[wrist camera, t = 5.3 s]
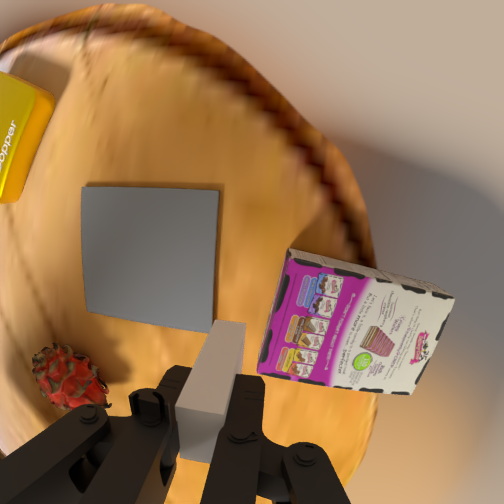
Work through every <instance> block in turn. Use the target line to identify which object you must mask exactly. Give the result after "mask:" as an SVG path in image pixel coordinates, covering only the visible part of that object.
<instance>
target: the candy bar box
mask: <svg viewBox="0 0 504 504" xmlns="http://www.w3.org/2000/svg"><path fill="white" fill-rule="evenodd" d="M454 301H455V298H454V297H453V296H451V295H450V294H448V293H447V292H445V291H444V290H442V289H440V288H439V287H437V286H436V285H434V284H431V283H428V282H424V281H420V280H416V279H412V278H407V277H404V276H400V275H396V274H392V273H388V272H384V271H380V270H377V269H373V268H369V267H365V266H361V265H357V264H353V263H349V262H345V261H341V260H337V259H333V258H329V257H325V256H321V255H317V254H312V253H308V252H304V251H300V250H296V249H291V248H288V249H287V252H286V255H285V259H284V263H283V266H282V270H281V274H280V277H279V281H278V285H277V288H276V292H275V296H274V299H273V303H272V307H271V310H270V314H269V317H268V321H267V325H266V328H265V332H264V335H263V339H262V343H261V346H260V350H259V356H258V363H257V373H258V374H261V375H266V376H270V377H275V378H280V379H286V380H291V381H296V382H302V383H308V384H314V385H321V386H326V387H335V388H343V389H349V390H357V391H365V392H374V393H386V394H398V395H411V394H412V392H413V391H414V389H415V387H416V385H417V383H418V381H419V380H420V377H421V376H422V374H423V372H424V370H425V368H426V366H427V364H428V362H429V360H430V358H431V355H432V353H433V351H434V349H435V347H436V345H437V342H438V340H439V338H440V336H441V333H442V331H443V329H444V326H445V324H446V322H447V319H448V317H449V314H450V312H451V309H452V307H453V304H454Z"/></svg>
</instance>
